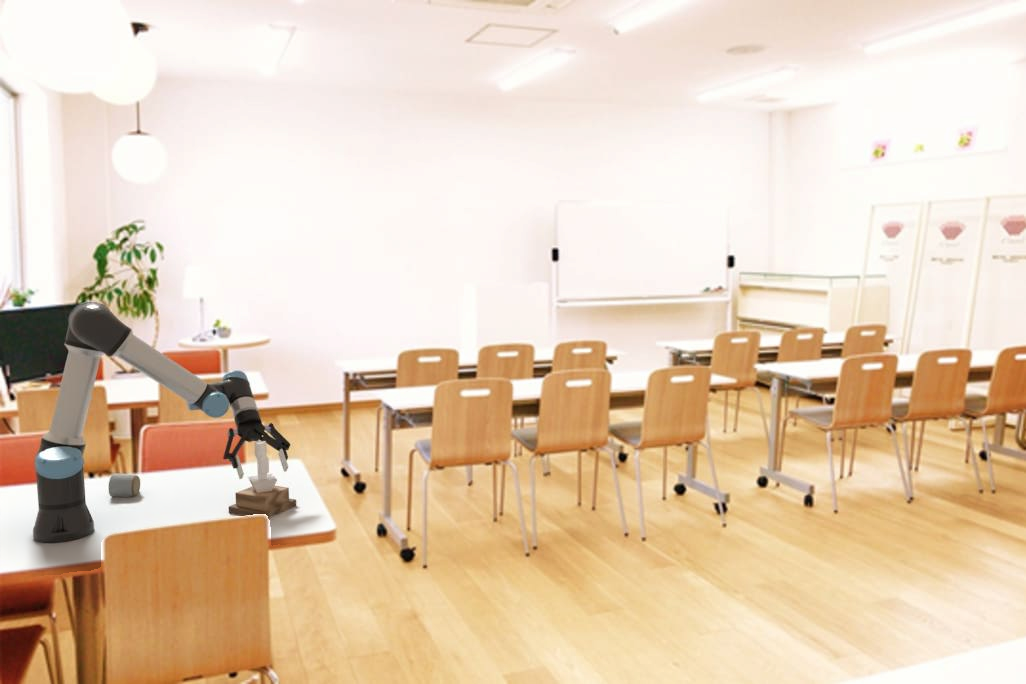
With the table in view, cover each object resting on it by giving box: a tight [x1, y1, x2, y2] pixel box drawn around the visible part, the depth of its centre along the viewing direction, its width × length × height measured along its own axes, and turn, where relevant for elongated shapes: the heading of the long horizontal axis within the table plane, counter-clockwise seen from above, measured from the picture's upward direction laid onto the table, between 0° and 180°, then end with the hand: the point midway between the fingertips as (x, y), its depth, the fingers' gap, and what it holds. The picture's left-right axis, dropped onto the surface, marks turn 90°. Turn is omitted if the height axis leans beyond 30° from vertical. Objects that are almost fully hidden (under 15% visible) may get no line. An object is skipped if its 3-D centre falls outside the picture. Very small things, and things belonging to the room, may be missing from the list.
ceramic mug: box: [108, 473, 141, 498], centre depth 274 cm, size 10×8×7 cm
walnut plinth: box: [228, 485, 297, 519], centre depth 260 cm, size 14×14×6 cm
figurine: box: [247, 440, 278, 493], centre depth 259 cm, size 7×9×15 cm
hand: (264, 472), depth 257 cm, fingers open, 13 cm apart
